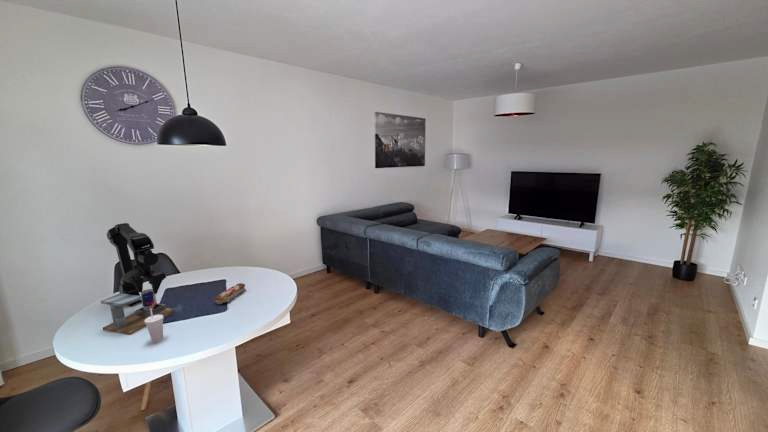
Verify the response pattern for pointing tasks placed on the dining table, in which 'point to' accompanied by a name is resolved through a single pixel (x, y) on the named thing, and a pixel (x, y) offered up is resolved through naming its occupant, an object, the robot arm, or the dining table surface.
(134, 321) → the socket board
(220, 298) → the pencil case
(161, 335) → the smoothie
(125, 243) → the robot arm
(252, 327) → the dining table surface
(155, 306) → the energy drink
